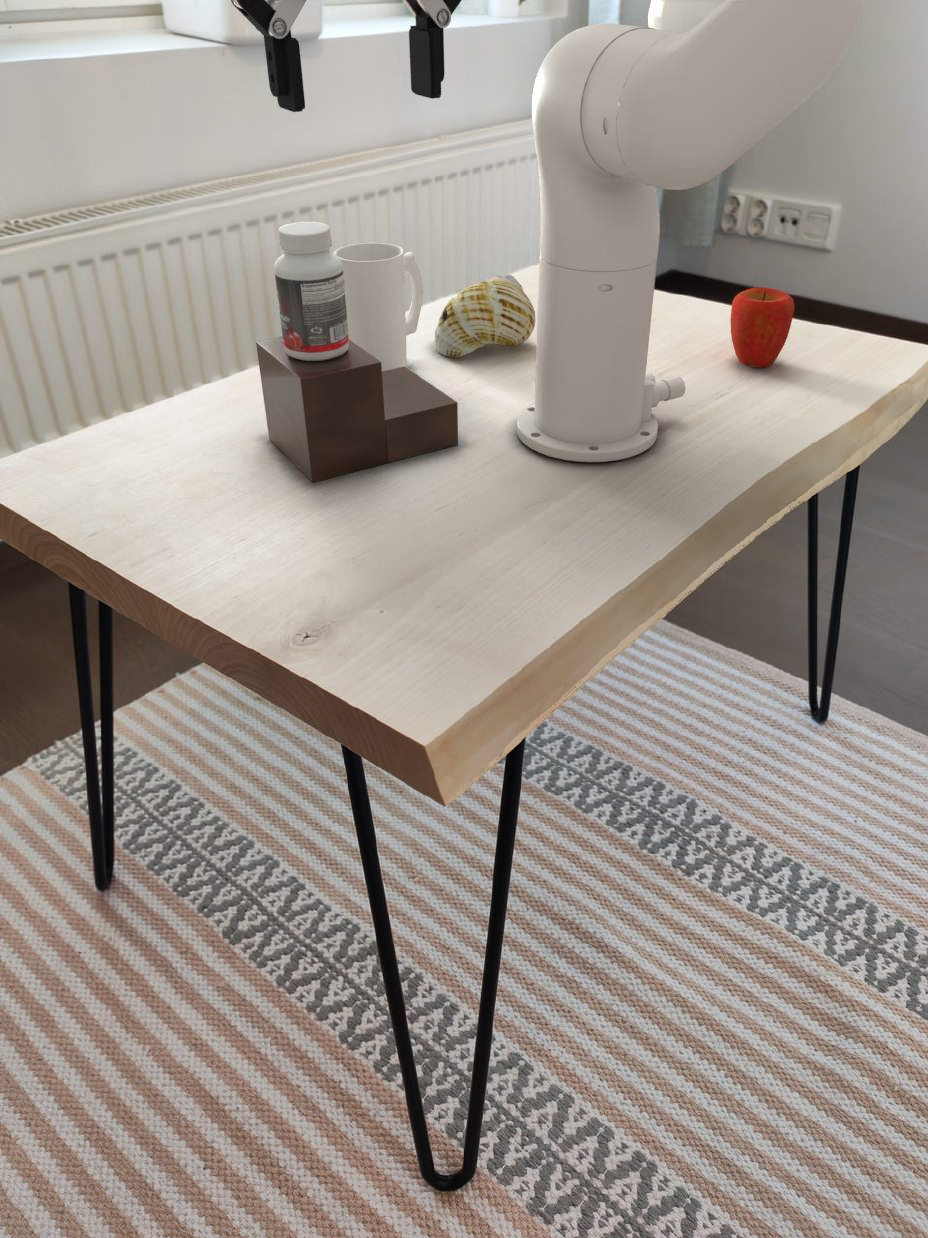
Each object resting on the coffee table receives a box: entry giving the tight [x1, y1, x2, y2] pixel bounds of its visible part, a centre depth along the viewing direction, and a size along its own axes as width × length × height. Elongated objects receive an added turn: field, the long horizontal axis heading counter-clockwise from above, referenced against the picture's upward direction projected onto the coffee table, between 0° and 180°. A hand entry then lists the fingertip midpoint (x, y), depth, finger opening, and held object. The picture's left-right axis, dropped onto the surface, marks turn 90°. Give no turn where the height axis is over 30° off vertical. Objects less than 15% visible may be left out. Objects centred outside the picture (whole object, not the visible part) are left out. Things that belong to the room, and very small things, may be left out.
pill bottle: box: [273, 221, 349, 361], centre depth 78 cm, size 5×5×10 cm
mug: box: [333, 242, 424, 371], centre depth 99 cm, size 10×7×12 cm, turn 134°
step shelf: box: [255, 335, 459, 483], centre depth 85 cm, size 14×10×9 cm
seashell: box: [434, 273, 536, 358], centre depth 105 cm, size 10×10×10 cm
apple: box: [729, 286, 795, 369], centre depth 100 cm, size 6×6×8 cm
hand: (360, 102), depth 64 cm, fingers open, 9 cm apart
